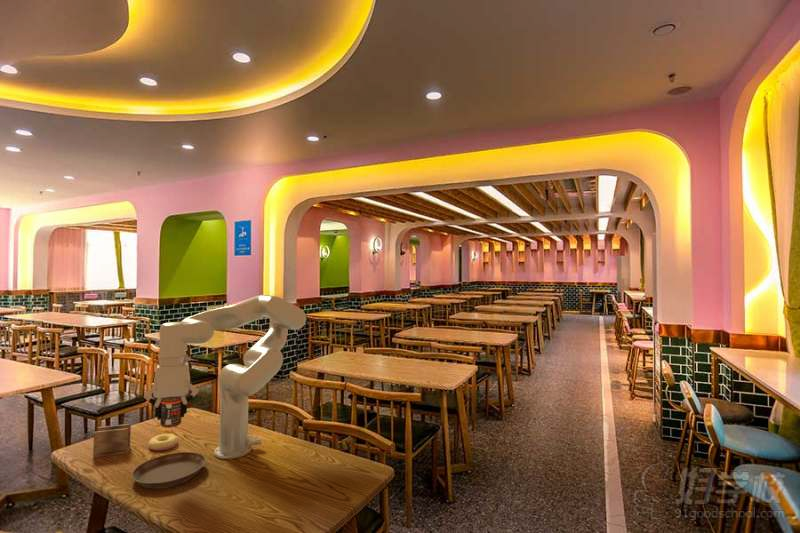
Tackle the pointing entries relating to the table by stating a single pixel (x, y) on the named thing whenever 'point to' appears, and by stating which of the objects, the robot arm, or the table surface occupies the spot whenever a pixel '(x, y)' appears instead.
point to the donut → (163, 442)
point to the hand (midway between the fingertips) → (171, 416)
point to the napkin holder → (112, 440)
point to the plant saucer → (168, 470)
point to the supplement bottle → (170, 412)
